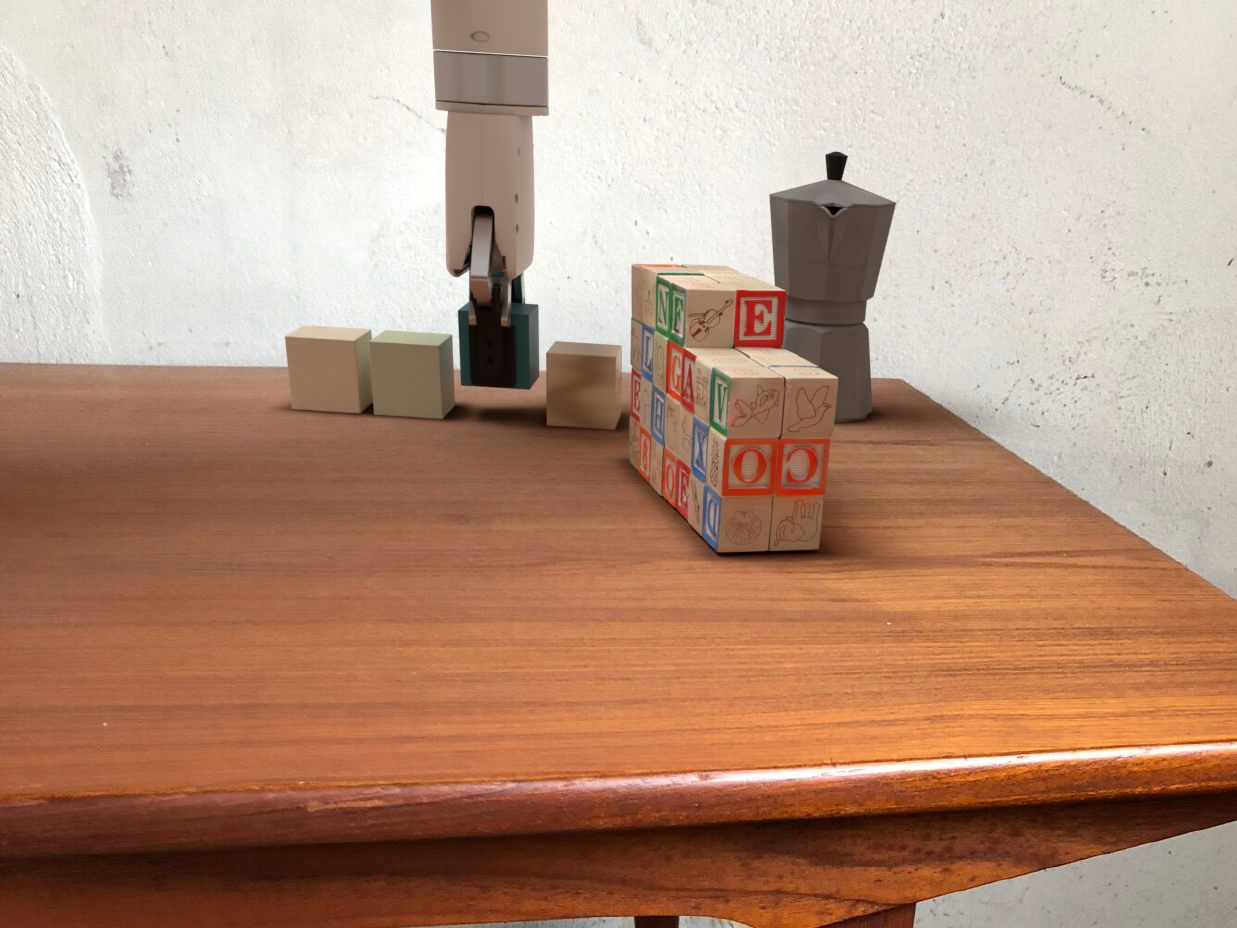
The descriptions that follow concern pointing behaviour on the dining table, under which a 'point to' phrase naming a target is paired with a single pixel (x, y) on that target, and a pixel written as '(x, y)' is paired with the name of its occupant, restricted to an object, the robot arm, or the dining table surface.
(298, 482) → the dining table surface
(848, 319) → the coffeepot
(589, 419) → the block
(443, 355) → the block
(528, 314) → the teal block
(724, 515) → the stack of blocks
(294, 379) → the block
